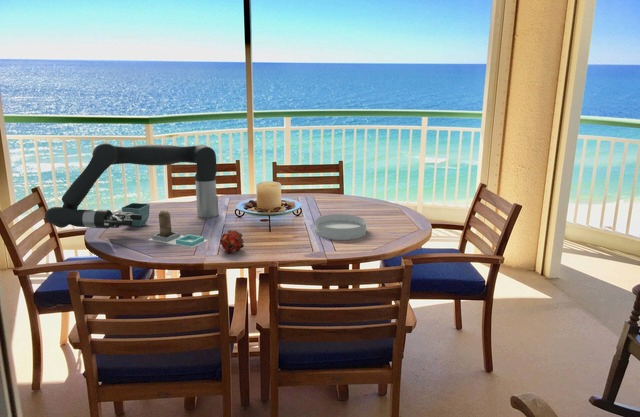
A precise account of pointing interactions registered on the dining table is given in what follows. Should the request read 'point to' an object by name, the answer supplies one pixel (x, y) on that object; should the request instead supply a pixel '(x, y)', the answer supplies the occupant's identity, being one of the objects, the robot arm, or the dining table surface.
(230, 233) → the dragon fruit
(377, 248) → the dining table surface
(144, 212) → the flower pot
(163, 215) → the jar
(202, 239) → the frame board
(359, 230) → the dish
